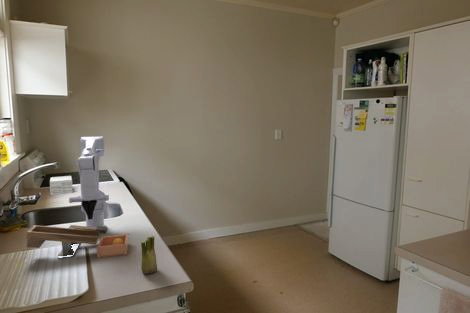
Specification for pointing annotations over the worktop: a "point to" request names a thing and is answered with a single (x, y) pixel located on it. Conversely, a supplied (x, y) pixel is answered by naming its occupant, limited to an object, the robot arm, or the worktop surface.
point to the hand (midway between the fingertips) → (90, 218)
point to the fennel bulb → (148, 256)
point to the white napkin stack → (61, 185)
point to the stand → (67, 249)
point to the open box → (112, 246)
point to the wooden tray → (63, 234)
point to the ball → (117, 241)
